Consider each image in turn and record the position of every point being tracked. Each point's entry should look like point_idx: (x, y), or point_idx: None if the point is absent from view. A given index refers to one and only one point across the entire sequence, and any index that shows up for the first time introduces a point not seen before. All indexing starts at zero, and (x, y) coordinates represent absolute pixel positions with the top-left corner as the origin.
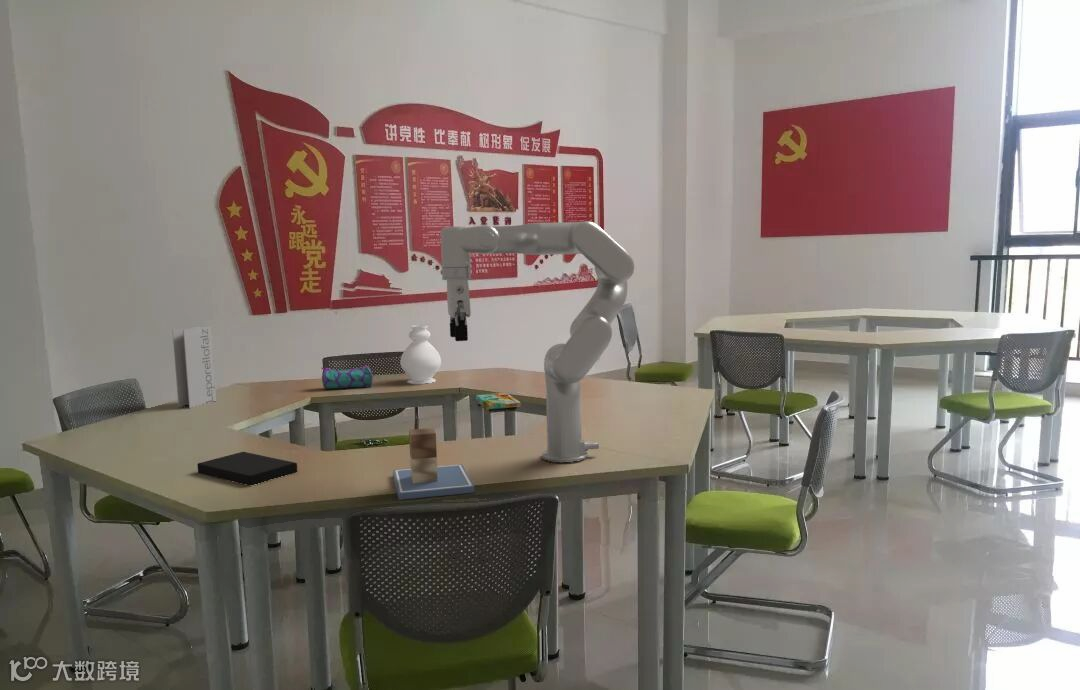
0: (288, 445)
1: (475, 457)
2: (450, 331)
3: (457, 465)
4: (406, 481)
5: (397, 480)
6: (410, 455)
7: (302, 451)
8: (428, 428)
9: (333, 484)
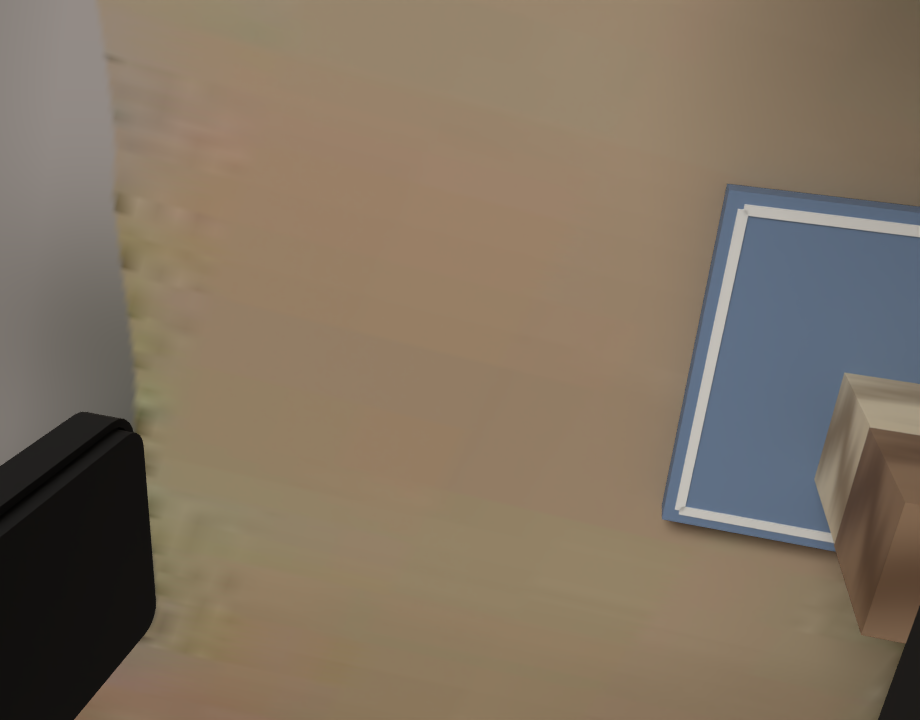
0: None
1: (510, 42)
2: (78, 701)
3: (746, 222)
4: None
5: None
6: None
7: (139, 696)
8: (905, 531)
9: (661, 714)
